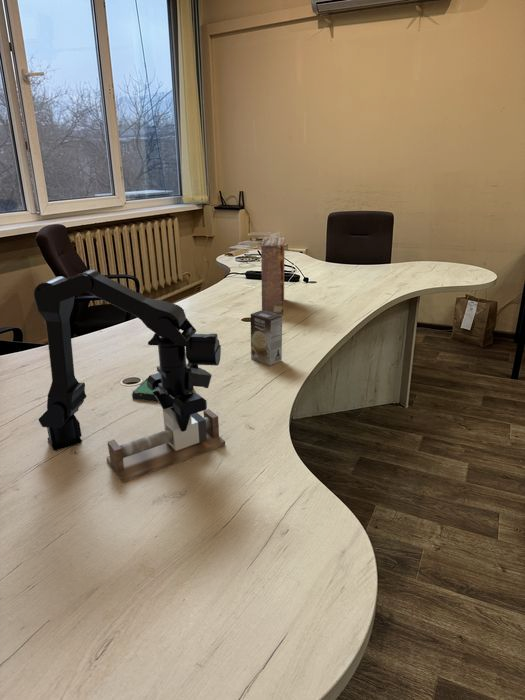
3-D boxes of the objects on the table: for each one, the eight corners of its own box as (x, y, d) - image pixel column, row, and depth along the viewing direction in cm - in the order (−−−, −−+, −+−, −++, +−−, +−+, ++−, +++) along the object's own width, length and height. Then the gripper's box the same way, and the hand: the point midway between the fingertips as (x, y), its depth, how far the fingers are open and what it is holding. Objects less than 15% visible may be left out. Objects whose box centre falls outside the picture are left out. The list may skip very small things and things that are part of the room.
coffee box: (249, 359, 165) (249, 313, 159) (262, 353, 169) (262, 309, 164) (270, 366, 159) (269, 319, 153) (282, 360, 164) (283, 314, 158)
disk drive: (194, 390, 145) (148, 385, 148) (193, 381, 144) (147, 376, 147) (180, 406, 135) (131, 400, 138) (180, 397, 134) (130, 391, 137)
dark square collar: (199, 442, 114) (197, 422, 112) (188, 432, 118) (187, 412, 116) (206, 439, 115) (205, 419, 113) (195, 430, 119) (194, 410, 117)
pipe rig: (122, 482, 102) (119, 456, 100) (106, 460, 110) (103, 436, 107) (225, 444, 115) (224, 420, 113) (204, 427, 123) (203, 404, 121)
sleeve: (175, 450, 110) (173, 419, 107) (165, 440, 115) (162, 409, 112) (199, 442, 114) (197, 411, 111) (188, 432, 118) (186, 402, 115)
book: (265, 299, 236) (264, 236, 225) (284, 299, 235) (284, 236, 224) (261, 314, 212) (261, 245, 201) (283, 314, 212) (283, 245, 201)
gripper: (226, 368, 104) (229, 432, 109) (186, 343, 118) (190, 401, 123) (179, 381, 98) (184, 448, 103) (142, 353, 112) (149, 413, 118)
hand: (178, 425), depth 112 cm, fingers closed on sleeve, 5 cm apart
